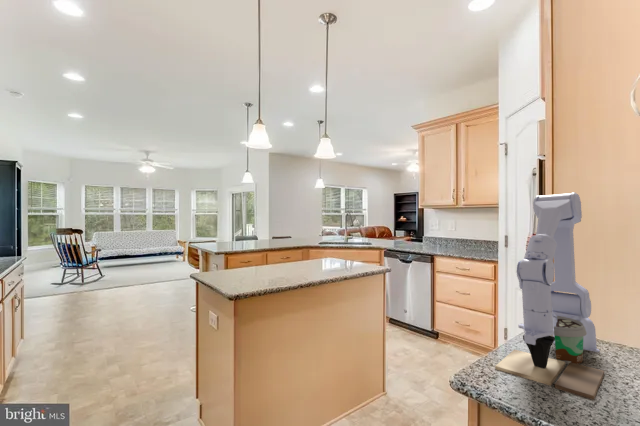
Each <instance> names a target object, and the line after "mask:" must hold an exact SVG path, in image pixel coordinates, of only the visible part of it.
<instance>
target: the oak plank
mask: <svg viewBox="0 0 640 426" xmlns="http://www.w3.org/2000/svg"><path fill="white" fill-rule="evenodd" d="M565 368H566V364H565V362H564V361H560V360H556V358H551V357H548V362H547V366H546V368H545V369H543V368H540V367H536V366H534V363H533V360H532V357H531V354H530V352H526V351H521V350H518V349H513V350H512V351H511V352H510V353H509V354H508V355H506V356H505V357H504V358H503V359H502V360H500V361H499V362H498V363H497V364H496V365H495V366H494V369H495V370H498V371H501V372H504V373H508V374H511V375H514V376H518V377H521V378H524V379H527V380H530V381H533V382H537V383H541V384H544V385H547V386H552V385H553V384H554V382H555V381H556V379H558V378H559V377H558V376H559V375H560V374H561V372H562V371H563V370H564V369H565Z"/></svg>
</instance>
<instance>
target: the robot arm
mask: <svg viewBox="0 0 640 426" xmlns="http://www.w3.org/2000/svg"><path fill="white" fill-rule="evenodd" d="M532 202H533V203H532V206H533V207H532V208H533V212H534V214H535V216H536V219H538V221H537V226H536V232H535V233H536V234H535V235H532V236H531V237H530V238H529V240H528V244H527V247H526V251H525V254H524V257H523V258H522V259H521V260H519V261H517V262H518V263H517V265H516V277H517V280H518V284H519V285H518V286H519V290H521V294H522V295H521V296H522V314H523V317H522V318H523V323H519V324H518V328H519V329H522V330H523V333H524V334H523V335H522V340H523V341H524V344H525V345H526V346H527V349H528V350H529V353H530V354H531V357H532V360H533V363H534V366H536V367H540V368H543V369H545V368H546V366H547V362H548V358H550V357H549V356H550V352H551V348H552V346H553V344H554V345H555V335H554V327H556V323H557V316H561V317H567V318H571V319H574V320H577V321H579V322H581V323H583V326H584V327H585V329H586V332H587V334H586V335H585V336H583V351H585V350H586V351H588V352H589V351H590V352H594V353H599V352H600V351H601V350H600V349H599V348H597V333H596V326H595V324H594V322H593V321H592V319H591V318H590V316H591V315H592V302H591V301H592V300H591V299H590V292H589V290H588V289H587V288H585V287H584V286H583V285H581V284H580V283H578V282H577V280H576V262H575V243H574V242H575V241H574V227H575V224H579V223H581V221H582V217H583V215H582V212H583V211H582V202H581V198H580V195H579V194H578V193H577V192H571V193H570V192H569V193H559V194H558V193H557V194H546V195H545V194H544V195H536V196H535V198H533V201H532Z"/></svg>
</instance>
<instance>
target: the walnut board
mask: <svg viewBox="0 0 640 426" xmlns="http://www.w3.org/2000/svg"><path fill="white" fill-rule="evenodd" d="M560 374H561V375H560V376H559V377H558V378H557V380H556V382H555V383H554V389H557V390H560V391H564V392H566V393H570V394H573V395H577V396H580V397H582V398H587V399H590V400H593V401H595V398H596V396H597V393H598V391H599V389H600V386H601V384H602V381H603V380H604V376H605V370H602V369H599V368H595V367H591V366H587V365H584V364H583V365H582V364H580V363H579V364H575V363H571V362H570V363H569V364H567V366H565V368H564V369H563V372H562V373H560Z"/></svg>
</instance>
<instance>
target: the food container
mask: <svg viewBox="0 0 640 426" xmlns="http://www.w3.org/2000/svg"><path fill="white" fill-rule="evenodd" d="M586 334H587V332H586V329H585V327H584V326H583V323H581V322H579V321H577V320H574V319H571V318H567V317H561V316H557V323H556V327H554V335H555V344H554V348H555V359H556V360H560V361H564V362H565V365H568V364H569V363H570V362H571V363H575V364H579V365H580V364H582V363H583V361H584V359H583V357H584V350H583V336H585V335H586Z"/></svg>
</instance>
